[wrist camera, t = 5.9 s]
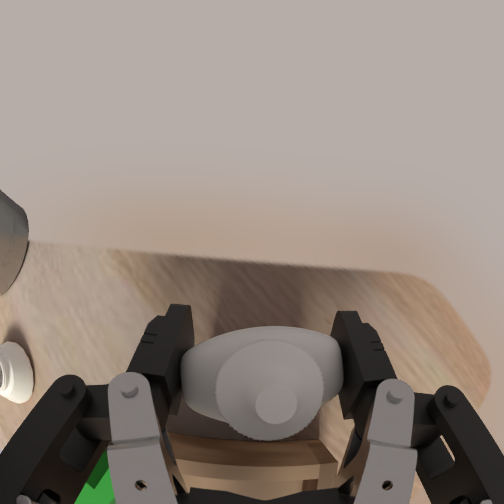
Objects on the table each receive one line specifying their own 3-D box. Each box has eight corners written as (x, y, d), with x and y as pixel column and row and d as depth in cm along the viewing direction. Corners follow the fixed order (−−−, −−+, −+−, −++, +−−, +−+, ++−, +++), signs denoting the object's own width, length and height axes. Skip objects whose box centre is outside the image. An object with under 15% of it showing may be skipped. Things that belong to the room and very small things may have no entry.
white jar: (22, 413, 13) (45, 379, 14) (-1, 416, 10) (20, 380, 12) (-5, 366, 14) (16, 330, 16) (-27, 364, 11) (-8, 325, 13)
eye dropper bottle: (228, 311, 16) (182, 228, 5) (314, 347, 16) (444, 336, 4) (198, 376, 15) (91, 429, 4) (286, 412, 14) (356, 524, 3)
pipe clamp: (112, 413, 14) (75, 427, 10) (158, 448, 14) (131, 474, 9) (63, 494, 11) (33, 512, 7) (99, 524, 10) (74, 548, 6)
